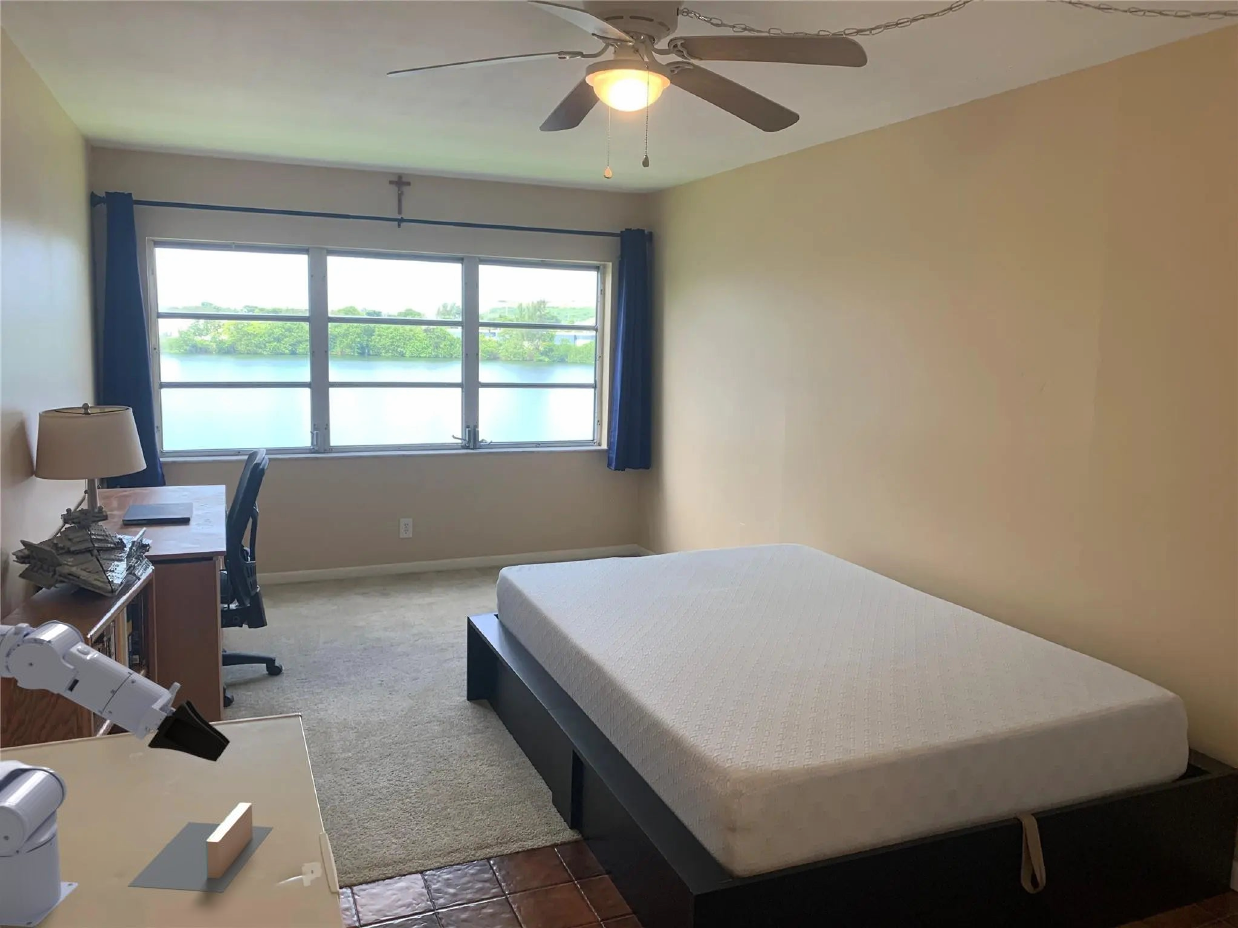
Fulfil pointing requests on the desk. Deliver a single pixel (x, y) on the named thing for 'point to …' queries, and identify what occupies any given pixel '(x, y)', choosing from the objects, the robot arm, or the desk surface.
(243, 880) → the desk surface
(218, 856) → the tan wooden block
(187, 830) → the mat
